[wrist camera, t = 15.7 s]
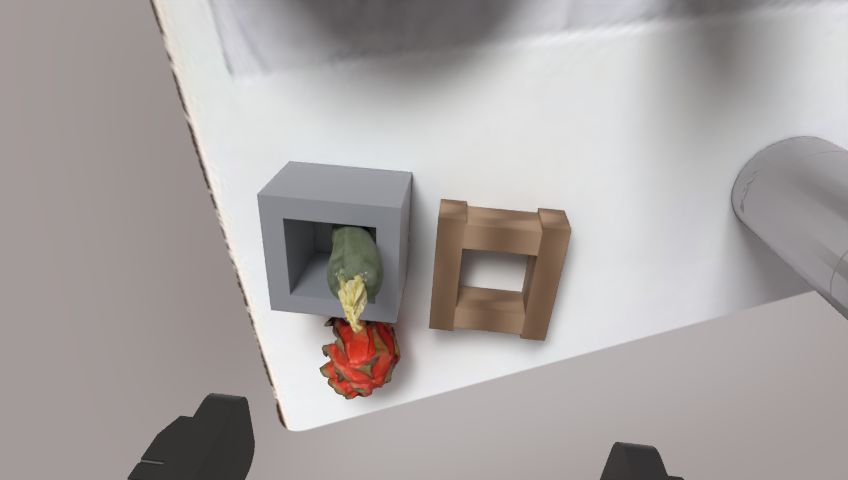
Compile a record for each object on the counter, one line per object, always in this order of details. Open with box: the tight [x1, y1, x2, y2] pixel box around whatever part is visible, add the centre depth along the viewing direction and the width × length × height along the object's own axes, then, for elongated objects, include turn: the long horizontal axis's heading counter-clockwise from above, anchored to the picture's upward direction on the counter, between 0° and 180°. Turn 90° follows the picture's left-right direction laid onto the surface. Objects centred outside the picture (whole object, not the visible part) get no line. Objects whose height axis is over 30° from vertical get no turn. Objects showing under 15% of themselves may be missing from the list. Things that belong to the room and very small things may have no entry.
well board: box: [429, 199, 571, 341], centre depth 48 cm, size 12×13×4 cm
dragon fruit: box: [320, 317, 400, 399], centre depth 53 cm, size 8×8×12 cm
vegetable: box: [327, 223, 384, 334], centre depth 40 cm, size 4×4×20 cm
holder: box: [257, 161, 412, 323], centre depth 46 cm, size 12×12×8 cm
